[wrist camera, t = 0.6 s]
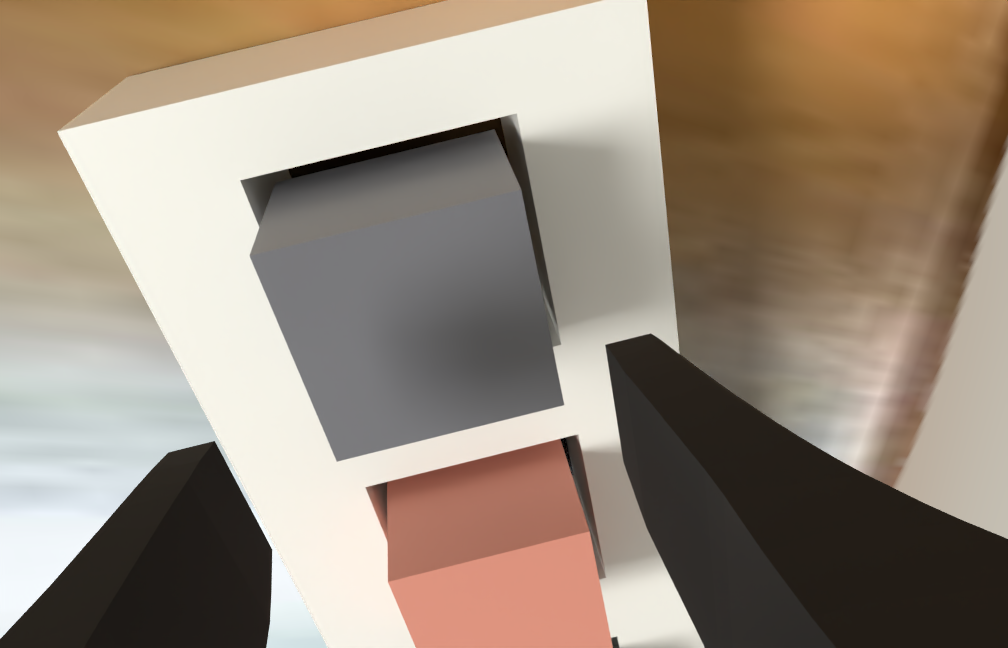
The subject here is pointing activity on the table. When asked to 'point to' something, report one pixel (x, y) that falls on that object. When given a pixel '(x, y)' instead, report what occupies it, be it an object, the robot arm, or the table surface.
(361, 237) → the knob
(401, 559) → the middle knob
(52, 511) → the table surface
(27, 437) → the table surface
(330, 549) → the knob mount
